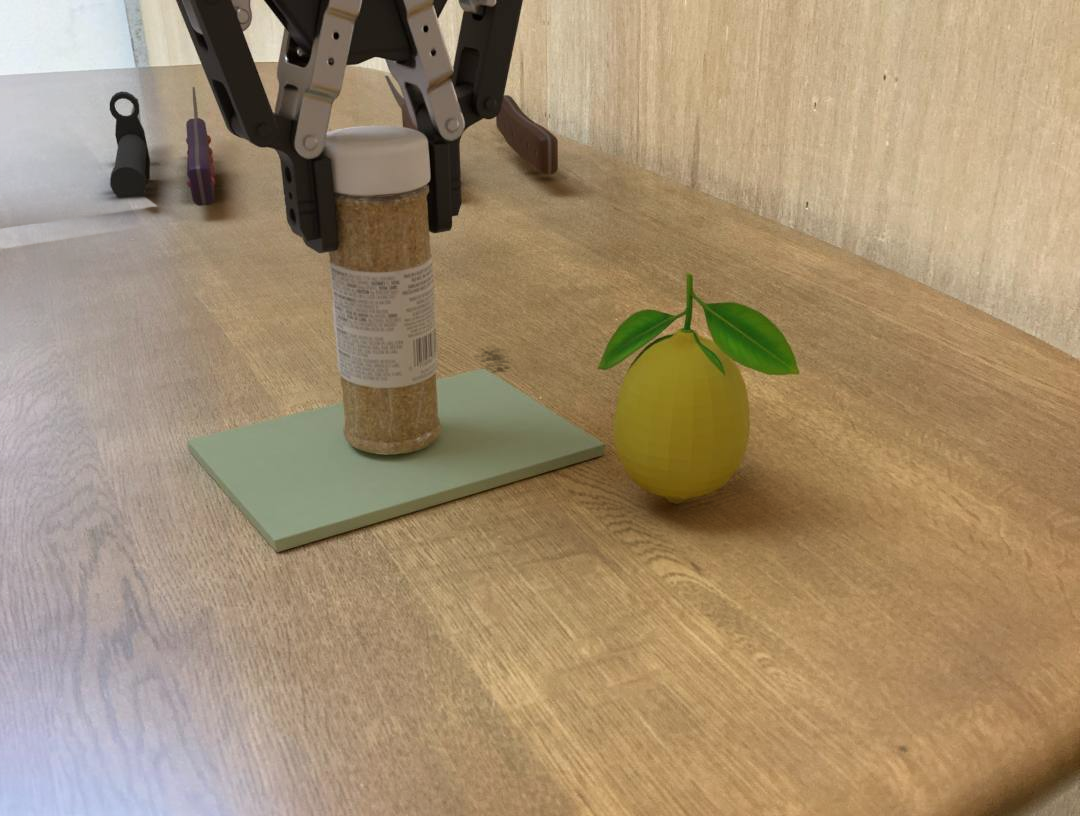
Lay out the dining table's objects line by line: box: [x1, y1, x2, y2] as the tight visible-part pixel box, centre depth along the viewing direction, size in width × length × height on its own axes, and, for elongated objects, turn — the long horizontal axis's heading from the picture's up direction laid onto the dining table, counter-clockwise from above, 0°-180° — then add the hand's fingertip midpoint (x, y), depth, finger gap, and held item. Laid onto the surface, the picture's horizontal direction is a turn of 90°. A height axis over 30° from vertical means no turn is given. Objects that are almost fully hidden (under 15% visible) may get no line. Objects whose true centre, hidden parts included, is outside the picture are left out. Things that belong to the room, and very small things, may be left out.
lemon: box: [597, 273, 800, 505], centre depth 46 cm, size 7×6×10 cm
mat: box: [186, 368, 606, 553], centre depth 53 cm, size 16×11×1 cm
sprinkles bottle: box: [322, 125, 441, 455], centre depth 49 cm, size 5×5×13 cm
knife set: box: [109, 75, 559, 207], centre depth 101 cm, size 35×33×8 cm
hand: (377, 236), depth 48 cm, fingers closed on sprinkles bottle, 4 cm apart
